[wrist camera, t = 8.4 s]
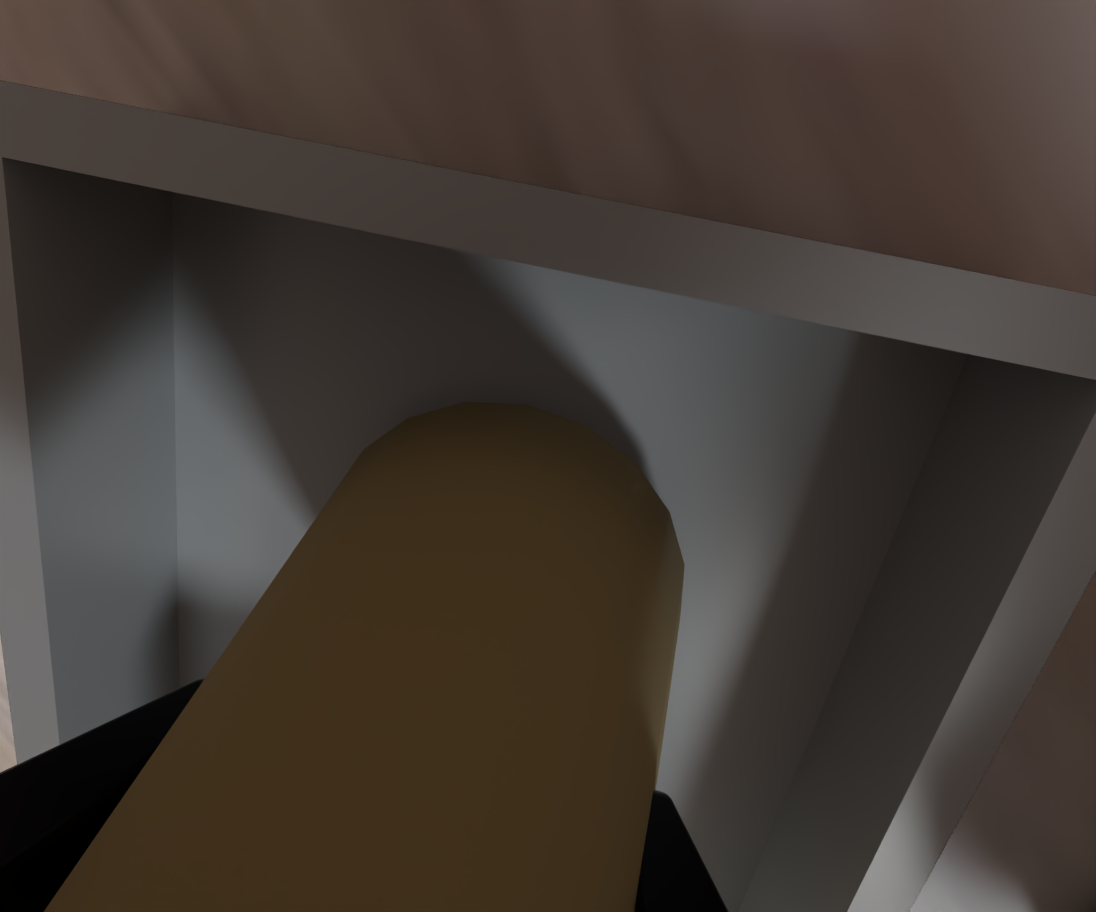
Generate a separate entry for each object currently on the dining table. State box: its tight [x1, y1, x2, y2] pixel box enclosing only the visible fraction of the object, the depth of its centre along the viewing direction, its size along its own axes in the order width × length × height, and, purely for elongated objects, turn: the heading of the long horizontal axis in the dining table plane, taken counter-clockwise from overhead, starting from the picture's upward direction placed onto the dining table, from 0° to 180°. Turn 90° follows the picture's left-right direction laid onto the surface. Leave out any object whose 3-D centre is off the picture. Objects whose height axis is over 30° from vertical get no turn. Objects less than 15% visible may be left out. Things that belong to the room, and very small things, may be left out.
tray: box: [0, 80, 1096, 912], centre depth 13 cm, size 14×20×4 cm
